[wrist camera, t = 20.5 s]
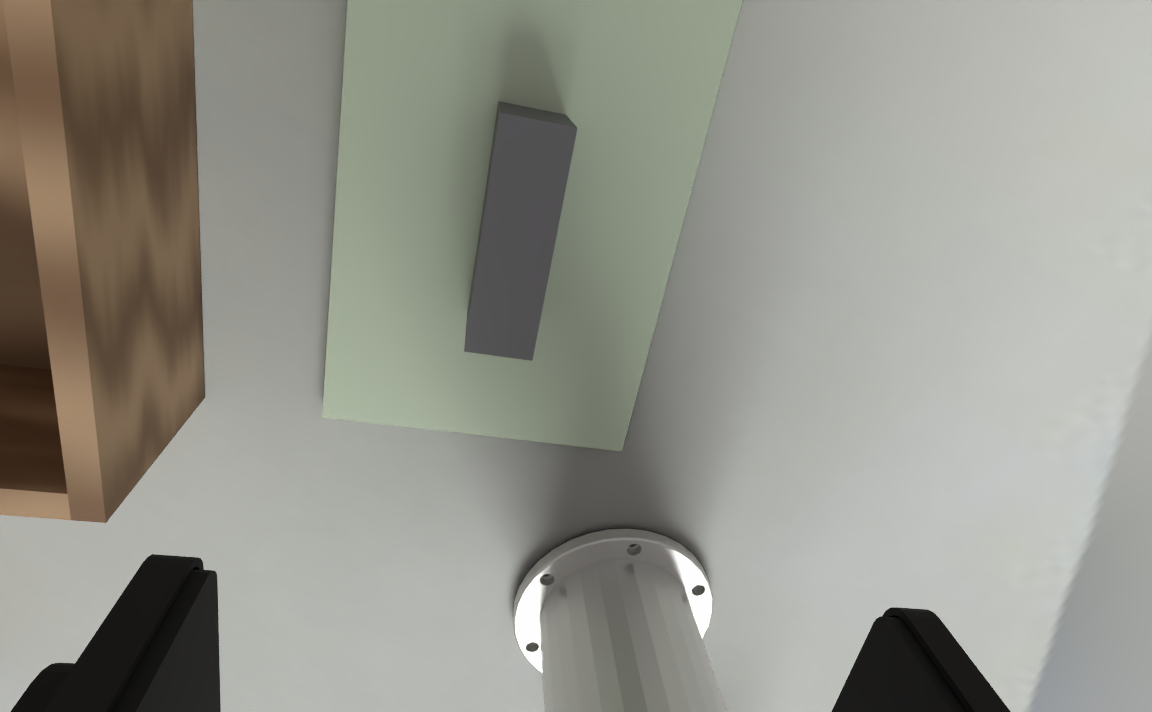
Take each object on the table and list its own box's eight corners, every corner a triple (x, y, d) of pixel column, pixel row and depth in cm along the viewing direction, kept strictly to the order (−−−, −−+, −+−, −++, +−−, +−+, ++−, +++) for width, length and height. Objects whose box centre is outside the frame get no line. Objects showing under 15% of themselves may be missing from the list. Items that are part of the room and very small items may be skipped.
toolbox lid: (617, 437, 40) (637, 501, 34) (328, 403, 37) (300, 467, 32) (737, -22, 30) (790, -32, 25) (361, -116, 27) (330, -152, 22)
